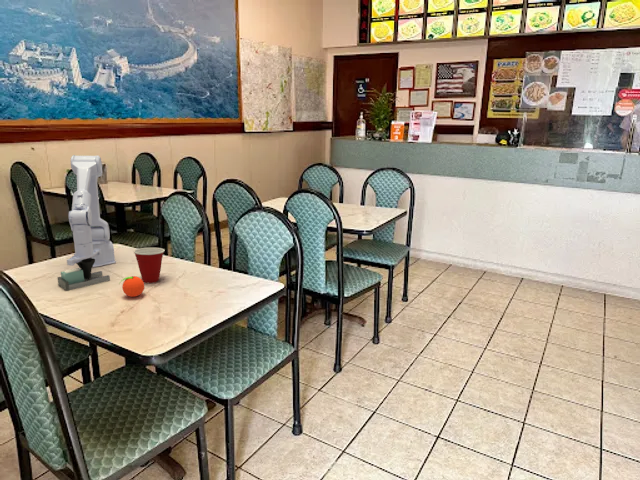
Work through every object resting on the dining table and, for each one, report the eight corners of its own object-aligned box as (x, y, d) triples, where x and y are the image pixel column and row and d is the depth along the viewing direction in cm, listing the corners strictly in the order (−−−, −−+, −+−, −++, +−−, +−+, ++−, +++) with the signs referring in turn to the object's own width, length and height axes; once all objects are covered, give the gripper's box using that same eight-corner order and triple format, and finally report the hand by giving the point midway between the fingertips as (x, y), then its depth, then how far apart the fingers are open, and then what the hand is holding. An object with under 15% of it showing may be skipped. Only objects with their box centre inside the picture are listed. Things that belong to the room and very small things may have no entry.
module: (80, 281, 164) (78, 267, 163) (84, 283, 162) (82, 269, 161) (62, 285, 160) (60, 271, 159) (66, 287, 158) (64, 273, 156)
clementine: (119, 301, 148) (117, 281, 146) (119, 293, 154) (118, 274, 152) (145, 298, 151) (143, 278, 149) (144, 291, 157) (143, 272, 155)
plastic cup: (171, 276, 173) (169, 246, 169) (158, 286, 162) (156, 254, 159) (144, 274, 173) (141, 244, 170) (130, 284, 163) (127, 252, 160)
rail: (101, 275, 171) (100, 268, 170) (110, 280, 166) (109, 272, 165) (58, 285, 160) (57, 277, 159) (66, 290, 155) (65, 282, 155)
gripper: (88, 236, 168) (92, 271, 171) (57, 246, 154) (62, 283, 158) (104, 238, 166) (108, 273, 170) (75, 248, 152) (79, 286, 156)
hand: (87, 278), depth 163 cm, fingers closed
